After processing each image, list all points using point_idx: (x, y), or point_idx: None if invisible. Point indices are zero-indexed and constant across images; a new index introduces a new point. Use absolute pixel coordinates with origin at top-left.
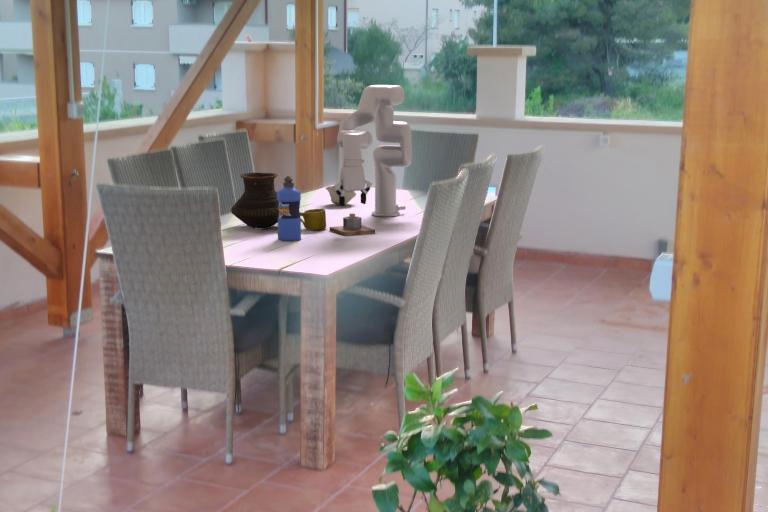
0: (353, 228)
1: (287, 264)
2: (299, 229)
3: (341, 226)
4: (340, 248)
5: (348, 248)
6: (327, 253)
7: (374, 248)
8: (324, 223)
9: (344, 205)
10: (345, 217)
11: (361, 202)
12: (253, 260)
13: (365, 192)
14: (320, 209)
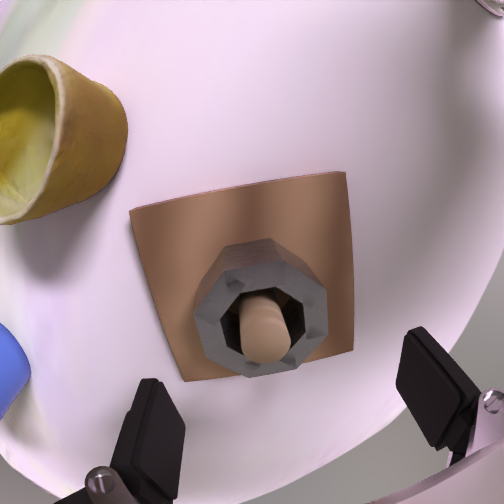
0: None
1: None
2: (13, 399)
3: (208, 208)
4: None
5: None
6: None
7: (233, 495)
8: (96, 183)
9: (182, 428)
10: (215, 302)
11: (405, 350)
12: (20, 463)
13: (464, 451)
14: (50, 79)
